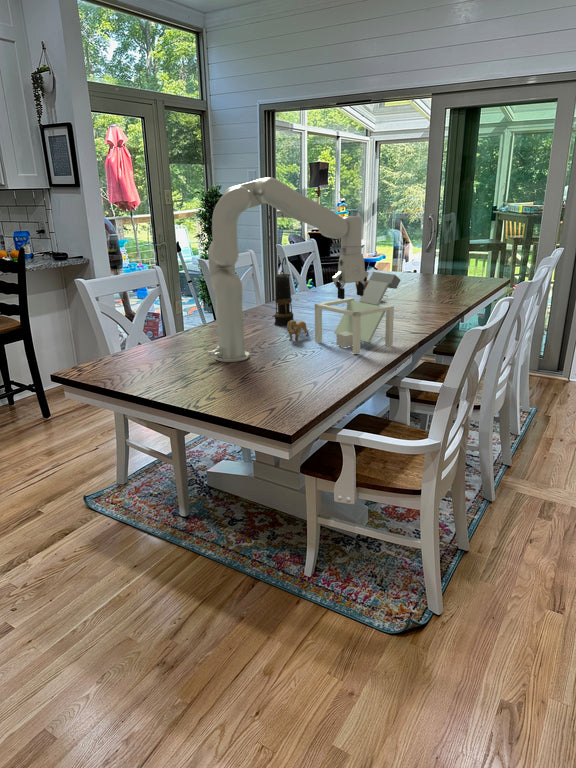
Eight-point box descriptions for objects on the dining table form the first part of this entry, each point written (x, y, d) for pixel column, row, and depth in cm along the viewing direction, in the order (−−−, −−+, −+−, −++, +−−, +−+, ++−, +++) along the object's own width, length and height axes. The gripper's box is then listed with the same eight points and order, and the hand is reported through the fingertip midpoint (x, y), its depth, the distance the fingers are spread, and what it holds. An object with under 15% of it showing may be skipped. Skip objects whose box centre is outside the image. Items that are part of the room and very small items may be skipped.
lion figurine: (296, 343, 215) (296, 321, 212) (284, 342, 217) (283, 320, 214) (310, 335, 228) (310, 314, 225) (299, 333, 230) (298, 313, 227)
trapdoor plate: (374, 347, 206) (368, 342, 203) (341, 337, 220) (334, 332, 218) (408, 280, 207) (401, 275, 204) (372, 275, 222) (365, 270, 219)
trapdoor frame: (356, 355, 197) (356, 313, 192) (315, 342, 216) (314, 304, 211) (392, 345, 208) (393, 306, 203) (350, 334, 226) (350, 297, 221)
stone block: (354, 346, 209) (345, 348, 207) (346, 343, 213) (336, 346, 210) (354, 333, 208) (345, 336, 205) (346, 331, 211) (336, 333, 209)
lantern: (271, 325, 246) (268, 258, 236) (280, 320, 254) (278, 255, 244) (288, 326, 242) (286, 258, 232) (297, 322, 250) (296, 256, 240)
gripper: (340, 253, 191) (340, 301, 197) (375, 249, 201) (374, 295, 207) (326, 252, 197) (326, 298, 203) (361, 248, 207) (360, 292, 212)
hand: (350, 296), depth 205 cm, fingers open, 9 cm apart
